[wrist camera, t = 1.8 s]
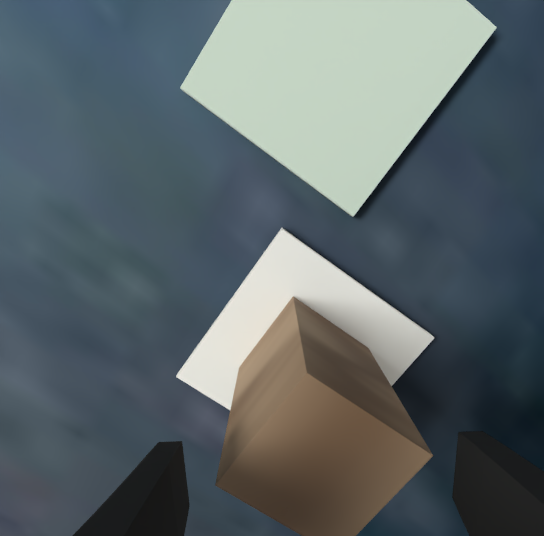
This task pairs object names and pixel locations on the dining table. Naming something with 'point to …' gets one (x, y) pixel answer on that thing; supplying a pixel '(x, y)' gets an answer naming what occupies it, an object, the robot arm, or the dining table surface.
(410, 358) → the white tile
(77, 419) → the dining table surface
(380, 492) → the walnut block
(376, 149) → the sage mat
